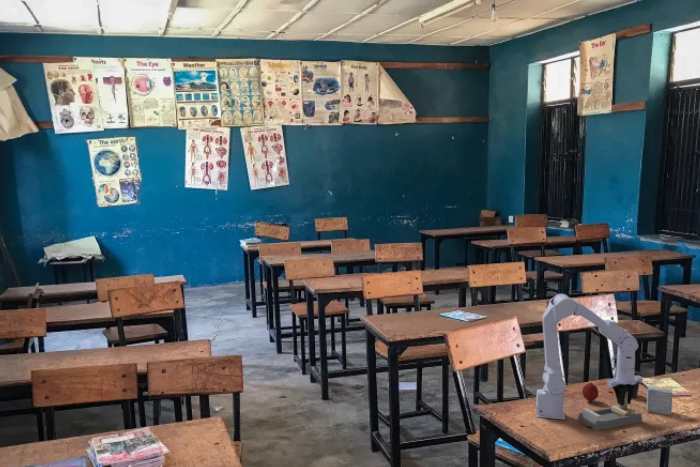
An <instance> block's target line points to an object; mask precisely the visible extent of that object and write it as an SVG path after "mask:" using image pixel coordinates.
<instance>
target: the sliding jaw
mask: <svg viewBox="0 0 700 467" xmlns="http://www.w3.org/2000/svg"><path fill="white" fill-rule="evenodd" d="M628 405H629V404H628V392H626V395H625V401H624V405H620V404H615V405H612V406H611V407H612V409H611V412H613V413H615V414H617V415H619V416H621V417H622V416H627V415H632V414H637V412H636V411H637V410H636V409H633V408H631V407H629V406H628Z"/></svg>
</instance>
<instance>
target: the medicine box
mask: <svg viewBox="0 0 700 467" xmlns="http://www.w3.org/2000/svg"><path fill="white" fill-rule="evenodd" d="M646 390H647V393H646V412H647V413H652V414H659V415H666V416H667V415H668V416H672V408H673V396H674V395H673V391H672V389H671V388H668V387H667V388H665V387H661V386H660V387H658V386H651V385H648V386H647V389H646Z"/></svg>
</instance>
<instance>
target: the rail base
mask: <svg viewBox="0 0 700 467" xmlns="http://www.w3.org/2000/svg"><path fill="white" fill-rule="evenodd" d="M611 409H612V406H609V407H604V408H599V409H595V410H594V409H593V410H590V409H589V408H586V407H585V408H582V412H579V414H578V421H579V422H581V423H583V424H585V425H586V426H588V427H590V428H592V429H594V430H595V431H602V430H607V429H612V428H618V427H622V426H627V425H633V424H636V423H642V422H643V417H642V416H643V414H642V413H640V412H638V413H637V412H636V414H632V415H627V416H622V417H621V416H619V415H617V414H615V413H613V412H611Z"/></svg>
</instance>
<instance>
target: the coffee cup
mask: <svg viewBox="0 0 700 467" xmlns="http://www.w3.org/2000/svg"><path fill="white" fill-rule="evenodd" d="M634 376H641V377H643V374H642V373H641V372H640V371H638V370H634ZM636 385H638V389H637V390H636V391H635V393H634V395H633V397H632V399H636V398H638V395H639V389H640V382H636Z"/></svg>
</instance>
